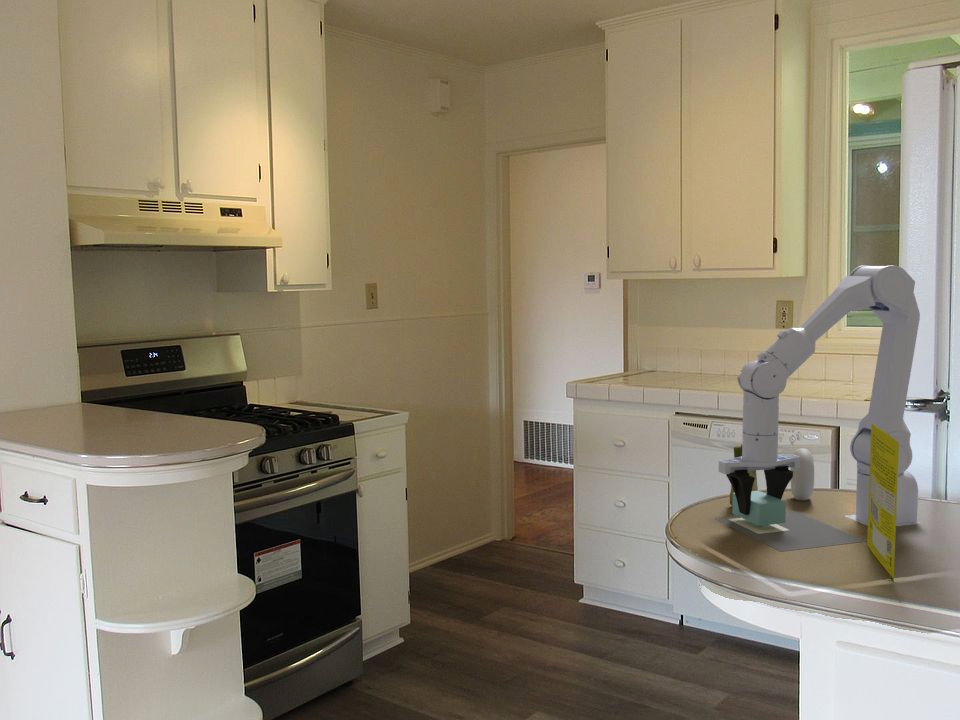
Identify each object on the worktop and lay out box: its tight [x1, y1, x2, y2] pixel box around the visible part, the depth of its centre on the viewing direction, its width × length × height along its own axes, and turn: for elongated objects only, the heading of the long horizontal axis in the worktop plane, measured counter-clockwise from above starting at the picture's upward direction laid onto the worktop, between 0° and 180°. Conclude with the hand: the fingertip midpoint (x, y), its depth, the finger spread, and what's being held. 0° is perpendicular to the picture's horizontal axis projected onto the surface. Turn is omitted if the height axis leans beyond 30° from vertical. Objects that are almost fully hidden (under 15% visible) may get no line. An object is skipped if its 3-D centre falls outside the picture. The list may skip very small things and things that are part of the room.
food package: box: [866, 424, 899, 584], centre depth 135 cm, size 15×1×20 cm, turn 170°
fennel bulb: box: [729, 443, 759, 506], centre depth 167 cm, size 6×5×12 cm
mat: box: [715, 510, 867, 552], centre depth 152 cm, size 16×19×1 cm
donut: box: [790, 447, 815, 502], centre depth 172 cm, size 10×3×10 cm, turn 168°
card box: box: [731, 490, 787, 526], centre depth 155 cm, size 8×5×4 cm, turn 17°
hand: (758, 512), depth 155 cm, fingers closed on card box, 5 cm apart
